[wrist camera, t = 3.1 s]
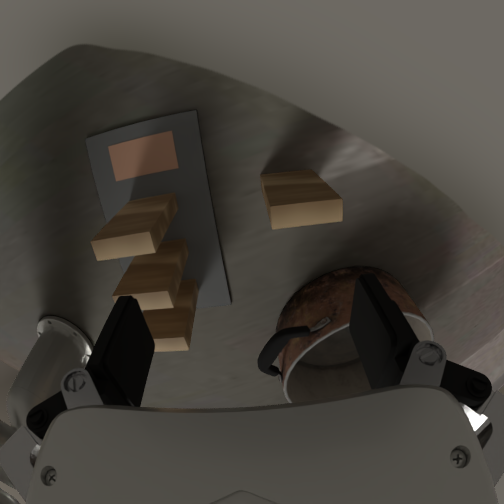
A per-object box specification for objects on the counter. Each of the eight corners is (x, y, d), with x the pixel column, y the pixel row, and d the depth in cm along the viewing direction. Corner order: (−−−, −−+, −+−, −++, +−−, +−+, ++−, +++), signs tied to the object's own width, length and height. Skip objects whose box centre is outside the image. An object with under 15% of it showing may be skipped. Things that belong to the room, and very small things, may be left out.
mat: (231, 303, 41) (231, 305, 41) (140, 311, 41) (139, 313, 41) (196, 109, 29) (195, 110, 28) (86, 138, 29) (84, 139, 28)
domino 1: (178, 208, 34) (155, 252, 24) (133, 216, 34) (97, 260, 24) (175, 192, 33) (149, 231, 23) (129, 201, 33) (90, 241, 23)
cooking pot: (438, 294, 43) (469, 333, 34) (368, 376, 53) (384, 418, 43) (295, 231, 36) (315, 279, 27) (230, 348, 46) (230, 402, 36)
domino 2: (188, 252, 36) (173, 307, 27) (145, 258, 37) (119, 311, 27) (185, 238, 36) (167, 290, 26) (141, 244, 36) (112, 296, 26)
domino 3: (198, 290, 39) (189, 350, 30) (158, 295, 39) (139, 352, 30) (195, 278, 38) (184, 337, 29) (154, 283, 38) (132, 339, 29)
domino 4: (312, 185, 33) (342, 221, 24) (262, 191, 34) (272, 229, 24) (311, 169, 33) (342, 198, 23) (260, 174, 33) (270, 206, 23)
